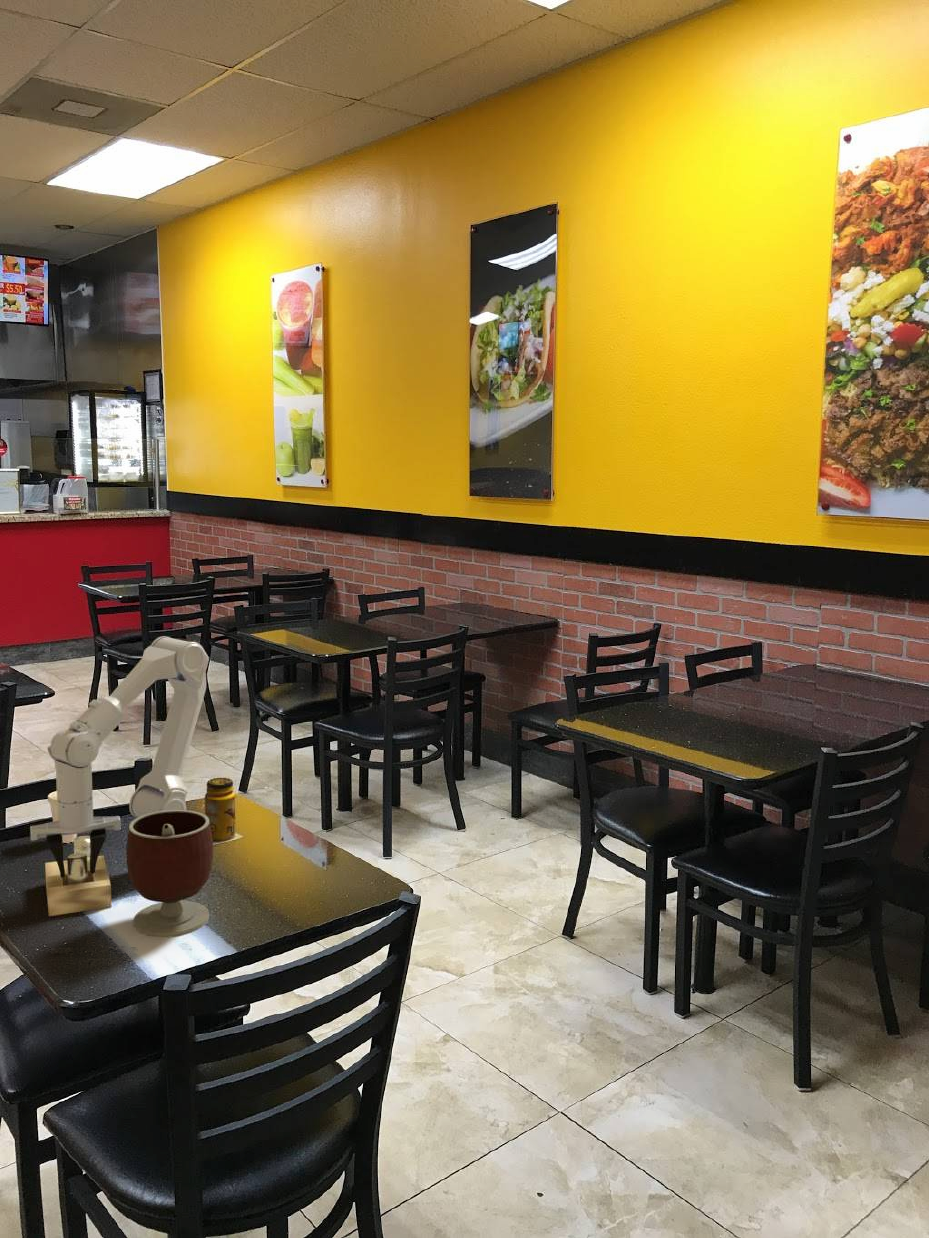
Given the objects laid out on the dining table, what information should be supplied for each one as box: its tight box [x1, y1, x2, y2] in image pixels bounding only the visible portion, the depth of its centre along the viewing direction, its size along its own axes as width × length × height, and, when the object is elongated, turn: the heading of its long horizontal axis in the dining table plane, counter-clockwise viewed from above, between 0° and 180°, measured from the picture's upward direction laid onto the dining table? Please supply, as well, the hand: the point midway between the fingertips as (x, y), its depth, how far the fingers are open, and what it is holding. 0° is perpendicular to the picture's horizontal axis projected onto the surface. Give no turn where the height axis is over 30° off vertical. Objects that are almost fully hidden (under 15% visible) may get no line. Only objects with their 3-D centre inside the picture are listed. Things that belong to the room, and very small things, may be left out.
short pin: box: [73, 835, 90, 857], centre depth 193 cm, size 3×3×4 cm
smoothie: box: [47, 790, 78, 844], centre depth 201 cm, size 6×6×14 cm
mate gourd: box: [125, 809, 214, 938], centre depth 166 cm, size 16×14×20 cm
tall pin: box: [66, 853, 88, 885], centre depth 175 cm, size 3×3×8 cm
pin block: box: [44, 855, 112, 917], centre depth 177 cm, size 10×14×4 cm
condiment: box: [204, 777, 244, 846], centre depth 205 cm, size 7×8×12 cm
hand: (77, 873), depth 175 cm, fingers open, 4 cm apart
